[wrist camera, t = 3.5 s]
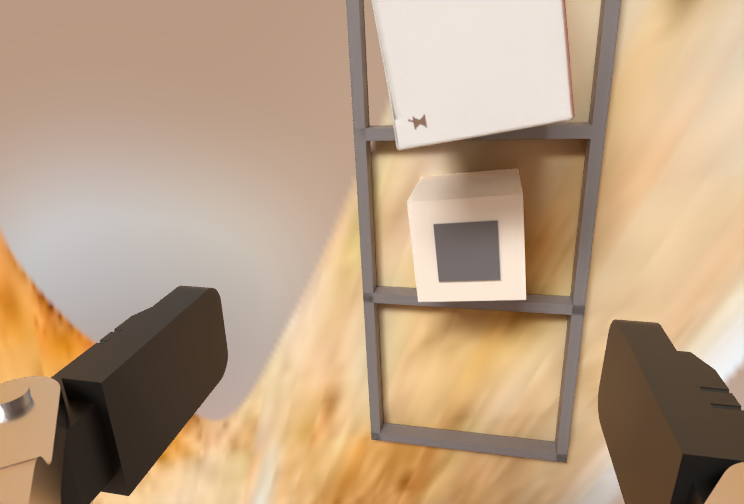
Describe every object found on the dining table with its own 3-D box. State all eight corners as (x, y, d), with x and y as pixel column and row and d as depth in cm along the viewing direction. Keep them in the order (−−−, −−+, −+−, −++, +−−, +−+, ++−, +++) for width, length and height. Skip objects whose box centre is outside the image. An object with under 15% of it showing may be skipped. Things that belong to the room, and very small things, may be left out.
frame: (345, -105, 24) (339, -111, 23) (631, -138, 21) (638, -146, 20) (374, 429, 35) (371, 439, 34) (564, 450, 32) (566, 462, 31)
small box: (547, 94, 25) (578, 128, 15) (431, 115, 26) (395, 158, 17) (530, -97, 22) (555, -199, 13) (403, -61, 24) (341, -128, 14)
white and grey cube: (421, 175, 28) (406, 202, 23) (518, 167, 27) (523, 194, 22) (429, 262, 30) (417, 303, 25) (521, 258, 28) (526, 300, 24)
